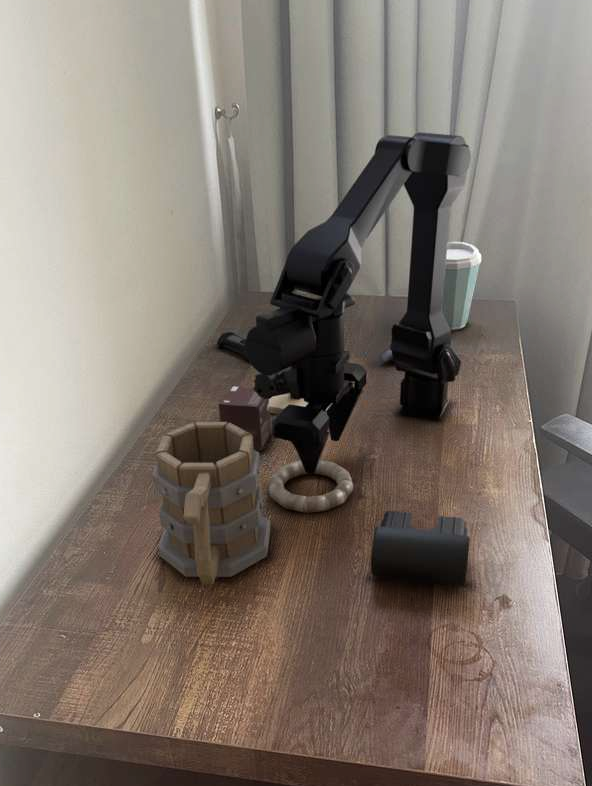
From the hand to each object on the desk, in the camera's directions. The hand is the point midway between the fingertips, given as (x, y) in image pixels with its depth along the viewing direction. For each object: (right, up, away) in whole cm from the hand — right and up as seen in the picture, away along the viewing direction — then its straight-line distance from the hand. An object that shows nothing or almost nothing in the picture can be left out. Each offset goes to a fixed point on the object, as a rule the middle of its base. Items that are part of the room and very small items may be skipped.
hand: (323, 456), depth 100 cm
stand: (-4, +9, +20) cm, 22 cm away
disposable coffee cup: (+26, +28, +47) cm, 61 cm away
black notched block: (+10, -14, -17) cm, 25 cm away
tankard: (-13, -13, -14) cm, 23 cm away
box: (-11, +3, +10) cm, 15 cm away
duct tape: (+16, +19, +34) cm, 42 cm away
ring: (-2, -4, -3) cm, 5 cm away
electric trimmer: (-13, +20, +37) cm, 44 cm away
